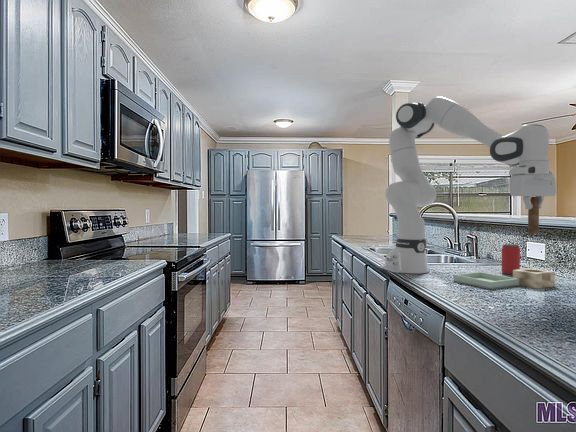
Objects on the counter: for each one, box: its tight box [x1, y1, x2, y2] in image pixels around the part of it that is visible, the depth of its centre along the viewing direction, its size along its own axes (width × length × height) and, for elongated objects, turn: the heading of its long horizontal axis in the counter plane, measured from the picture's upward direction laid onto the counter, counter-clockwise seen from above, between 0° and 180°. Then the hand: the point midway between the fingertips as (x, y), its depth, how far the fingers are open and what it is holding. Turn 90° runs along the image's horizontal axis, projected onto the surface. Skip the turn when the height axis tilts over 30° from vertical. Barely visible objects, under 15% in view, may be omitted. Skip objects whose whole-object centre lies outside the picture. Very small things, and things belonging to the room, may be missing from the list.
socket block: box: [512, 267, 556, 289], centre depth 135 cm, size 9×9×5 cm
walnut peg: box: [527, 196, 540, 235], centre depth 134 cm, size 3×3×13 cm
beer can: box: [501, 243, 521, 276], centre depth 158 cm, size 7×7×12 cm
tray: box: [453, 271, 520, 290], centre depth 138 cm, size 16×14×2 cm
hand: (533, 209), depth 134 cm, fingers closed on walnut peg, 3 cm apart
